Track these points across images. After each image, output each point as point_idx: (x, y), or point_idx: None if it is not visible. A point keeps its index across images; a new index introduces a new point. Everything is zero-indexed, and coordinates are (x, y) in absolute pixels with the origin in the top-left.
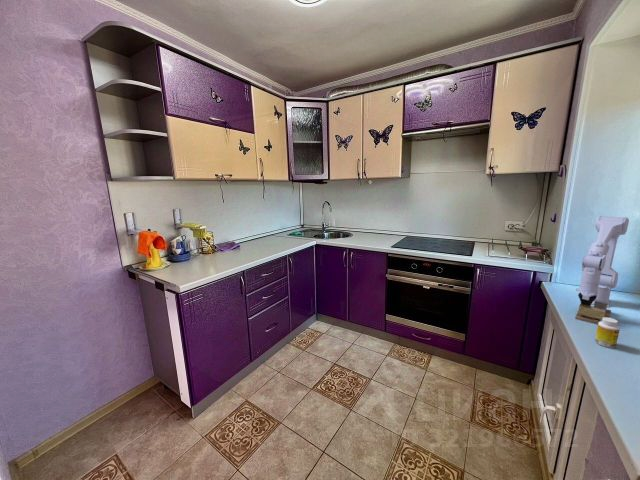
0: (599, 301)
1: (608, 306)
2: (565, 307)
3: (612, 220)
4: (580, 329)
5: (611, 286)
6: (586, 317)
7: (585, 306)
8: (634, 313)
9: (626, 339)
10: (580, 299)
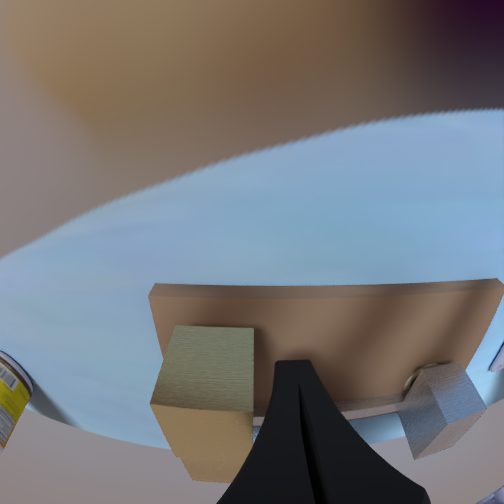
0: (443, 436)
1: (493, 371)
2: (415, 184)
3: None
4: (27, 312)
5: None
6: None
7: (193, 437)
8: None
9: (116, 430)
10: (233, 480)
